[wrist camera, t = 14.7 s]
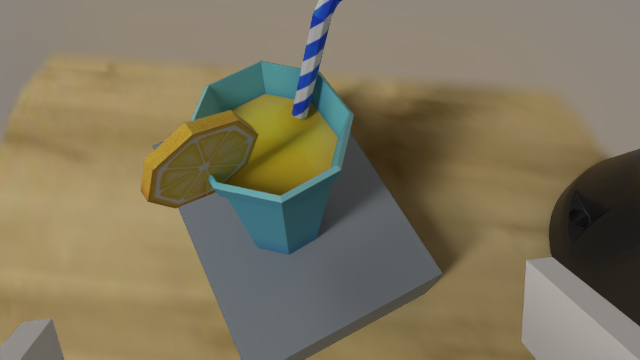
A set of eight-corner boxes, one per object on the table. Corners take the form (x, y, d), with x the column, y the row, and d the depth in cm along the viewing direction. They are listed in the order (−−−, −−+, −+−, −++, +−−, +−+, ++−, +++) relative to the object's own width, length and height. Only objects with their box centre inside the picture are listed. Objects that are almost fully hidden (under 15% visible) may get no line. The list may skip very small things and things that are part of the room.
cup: (306, 108, 34) (302, -90, 21) (396, 161, 32) (454, -20, 19) (174, 255, 29) (58, 116, 16) (272, 330, 27) (233, 243, 14)
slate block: (316, 117, 40) (316, 79, 36) (425, 293, 33) (442, 273, 29) (171, 178, 37) (152, 146, 33) (258, 384, 30) (249, 378, 26)
